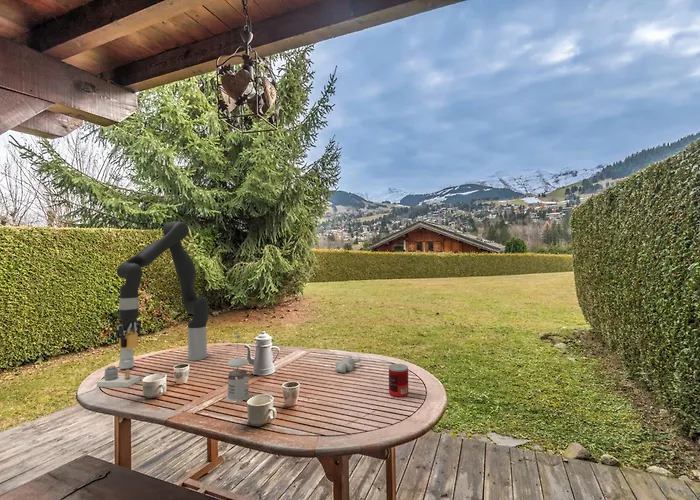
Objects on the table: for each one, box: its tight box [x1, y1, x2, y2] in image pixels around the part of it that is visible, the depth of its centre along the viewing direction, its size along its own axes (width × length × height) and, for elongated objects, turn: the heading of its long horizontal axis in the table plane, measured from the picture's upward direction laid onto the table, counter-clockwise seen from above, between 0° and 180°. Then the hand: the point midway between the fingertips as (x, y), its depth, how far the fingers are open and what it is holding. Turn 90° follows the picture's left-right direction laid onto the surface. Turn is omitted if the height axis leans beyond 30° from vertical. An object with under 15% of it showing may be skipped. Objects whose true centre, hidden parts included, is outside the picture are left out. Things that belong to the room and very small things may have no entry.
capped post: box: [104, 365, 119, 381], centre depth 155 cm, size 5×5×5 cm
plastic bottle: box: [118, 331, 135, 370], centre depth 175 cm, size 6×7×20 cm
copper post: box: [124, 368, 131, 380], centre depth 155 cm, size 2×2×4 cm
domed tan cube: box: [118, 331, 139, 350], centre depth 157 cm, size 5×5×7 cm
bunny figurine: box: [335, 356, 362, 374], centre depth 171 cm, size 10×5×15 cm
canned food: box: [388, 363, 409, 398], centre depth 140 cm, size 8×8×11 cm
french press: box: [225, 333, 252, 402], centre depth 140 cm, size 10×12×25 cm
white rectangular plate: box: [96, 375, 141, 388], centre depth 155 cm, size 8×14×2 cm, turn 86°
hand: (128, 345), depth 157 cm, fingers closed on domed tan cube, 5 cm apart
